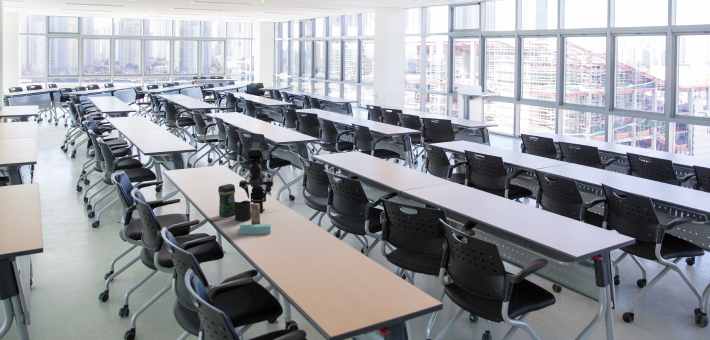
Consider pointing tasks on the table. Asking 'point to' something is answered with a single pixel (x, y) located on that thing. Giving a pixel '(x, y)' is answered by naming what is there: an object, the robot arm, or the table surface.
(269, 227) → the notched board
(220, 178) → the table surface
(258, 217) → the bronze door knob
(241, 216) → the pen holder
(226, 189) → the coffee jar
